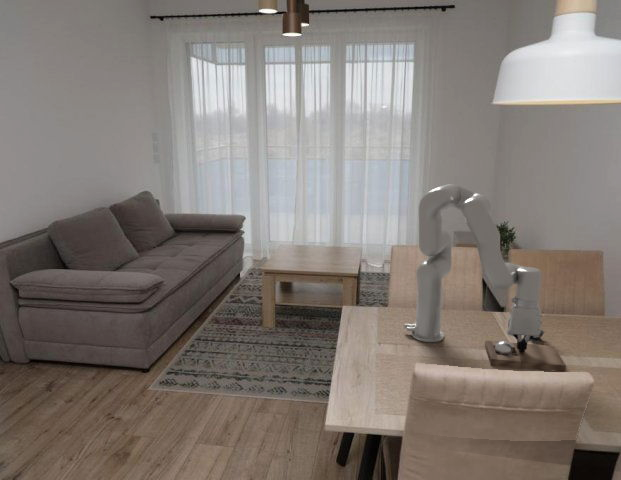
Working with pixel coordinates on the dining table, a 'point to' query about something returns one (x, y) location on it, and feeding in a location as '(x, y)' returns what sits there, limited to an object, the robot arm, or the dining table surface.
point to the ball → (503, 348)
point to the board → (527, 357)
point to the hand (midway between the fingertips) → (521, 350)
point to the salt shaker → (537, 339)
